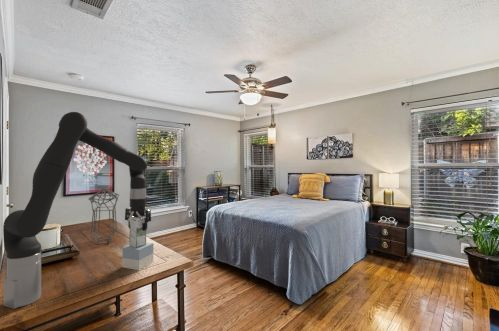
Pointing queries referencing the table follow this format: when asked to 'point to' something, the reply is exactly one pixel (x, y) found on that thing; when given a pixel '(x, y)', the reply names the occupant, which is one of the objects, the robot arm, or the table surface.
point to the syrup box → (136, 233)
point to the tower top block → (137, 251)
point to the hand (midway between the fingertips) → (137, 229)
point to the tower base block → (137, 262)
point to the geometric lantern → (103, 210)
